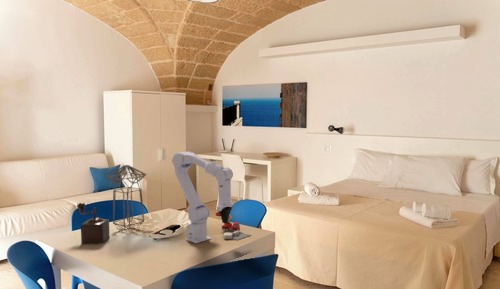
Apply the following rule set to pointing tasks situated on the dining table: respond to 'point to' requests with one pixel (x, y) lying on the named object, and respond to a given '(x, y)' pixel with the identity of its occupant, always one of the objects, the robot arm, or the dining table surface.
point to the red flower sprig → (229, 224)
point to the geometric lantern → (127, 192)
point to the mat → (240, 236)
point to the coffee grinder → (93, 228)
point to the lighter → (230, 235)
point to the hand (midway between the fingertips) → (225, 222)
